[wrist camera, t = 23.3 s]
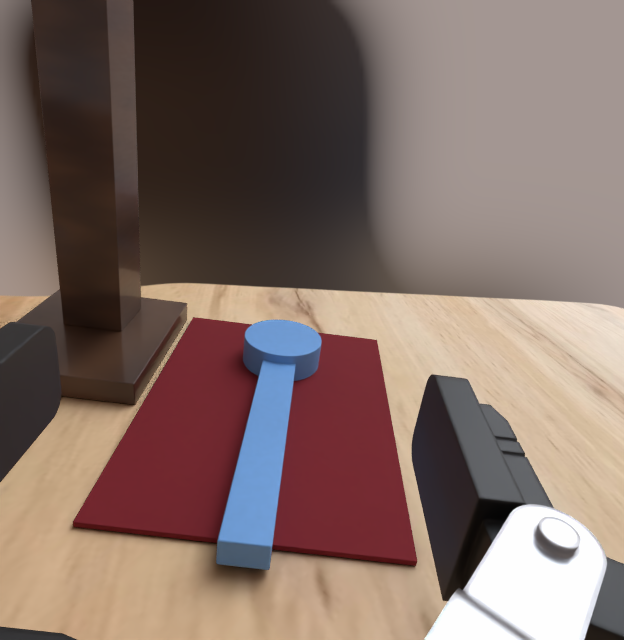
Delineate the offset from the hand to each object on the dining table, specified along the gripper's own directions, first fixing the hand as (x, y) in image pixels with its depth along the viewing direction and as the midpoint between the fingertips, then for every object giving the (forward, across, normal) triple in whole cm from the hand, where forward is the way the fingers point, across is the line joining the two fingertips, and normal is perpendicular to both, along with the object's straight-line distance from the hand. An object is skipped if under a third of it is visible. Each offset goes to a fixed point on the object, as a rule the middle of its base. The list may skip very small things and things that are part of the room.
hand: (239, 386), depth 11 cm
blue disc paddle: (+15, 0, +12) cm, 19 cm away
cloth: (+17, 0, +12) cm, 21 cm away
